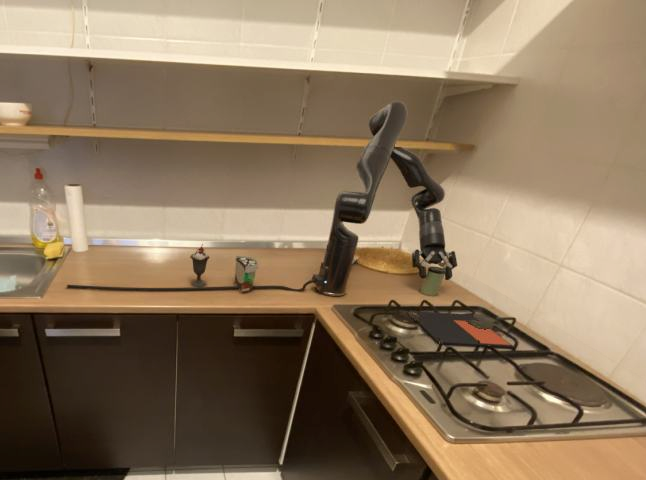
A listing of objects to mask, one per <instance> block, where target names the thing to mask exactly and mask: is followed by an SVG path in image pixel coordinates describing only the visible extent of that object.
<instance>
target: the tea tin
mask: <svg viewBox="0 0 646 480" xmlns="http://www.w3.org/2000/svg"><path fill="white" fill-rule="evenodd" d="M445 273H446V270H445V269H443V268H442V267H440V266H429V267H428V268H427V271H426V278H424V279H423V283H422V286H421V287H420V290H419V291H420V293H421V294H423V295H425V296H430V297H431V296H432V297H435V296H437V294H438V292H439V290H440V288H441V285H442V282H443V279H444V278H445Z"/></svg>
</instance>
